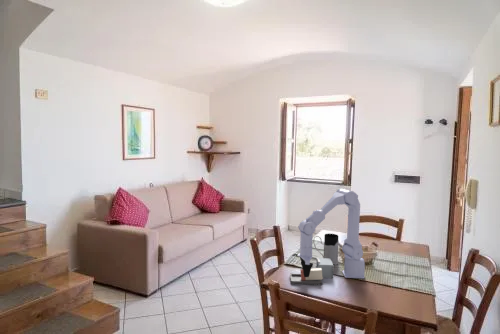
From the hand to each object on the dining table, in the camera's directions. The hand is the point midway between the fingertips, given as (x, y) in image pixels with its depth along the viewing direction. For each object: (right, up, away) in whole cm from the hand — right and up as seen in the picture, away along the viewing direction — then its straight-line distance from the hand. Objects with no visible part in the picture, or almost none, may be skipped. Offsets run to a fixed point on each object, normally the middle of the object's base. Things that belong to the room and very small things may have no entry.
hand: (305, 273), depth 154 cm
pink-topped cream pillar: (+3, -3, 0) cm, 4 cm away
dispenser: (+11, -3, +8) cm, 14 cm away
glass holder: (+16, -2, +26) cm, 31 cm away
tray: (0, -4, 0) cm, 4 cm away
